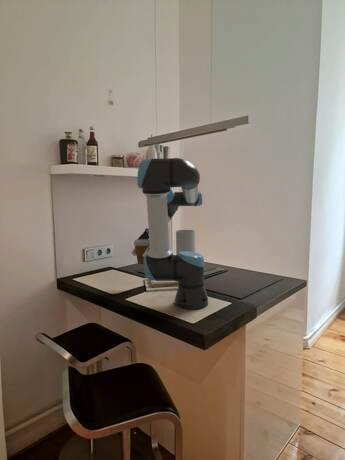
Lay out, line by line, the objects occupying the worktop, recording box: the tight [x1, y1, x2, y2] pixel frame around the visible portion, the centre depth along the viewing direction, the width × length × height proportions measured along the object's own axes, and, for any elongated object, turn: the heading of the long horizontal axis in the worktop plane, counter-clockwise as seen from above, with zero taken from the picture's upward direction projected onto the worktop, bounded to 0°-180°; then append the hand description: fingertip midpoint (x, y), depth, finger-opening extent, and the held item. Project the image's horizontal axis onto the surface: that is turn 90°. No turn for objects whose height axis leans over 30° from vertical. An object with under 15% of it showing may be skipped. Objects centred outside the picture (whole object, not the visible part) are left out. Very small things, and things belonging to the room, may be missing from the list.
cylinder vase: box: [175, 229, 196, 255], centre depth 205 cm, size 12×12×25 cm
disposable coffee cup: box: [133, 239, 150, 265], centre depth 163 cm, size 10×10×12 cm
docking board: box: [143, 277, 178, 293], centre depth 170 cm, size 22×22×3 cm
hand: (138, 255), depth 161 cm, fingers closed on disposable coffee cup, 9 cm apart
